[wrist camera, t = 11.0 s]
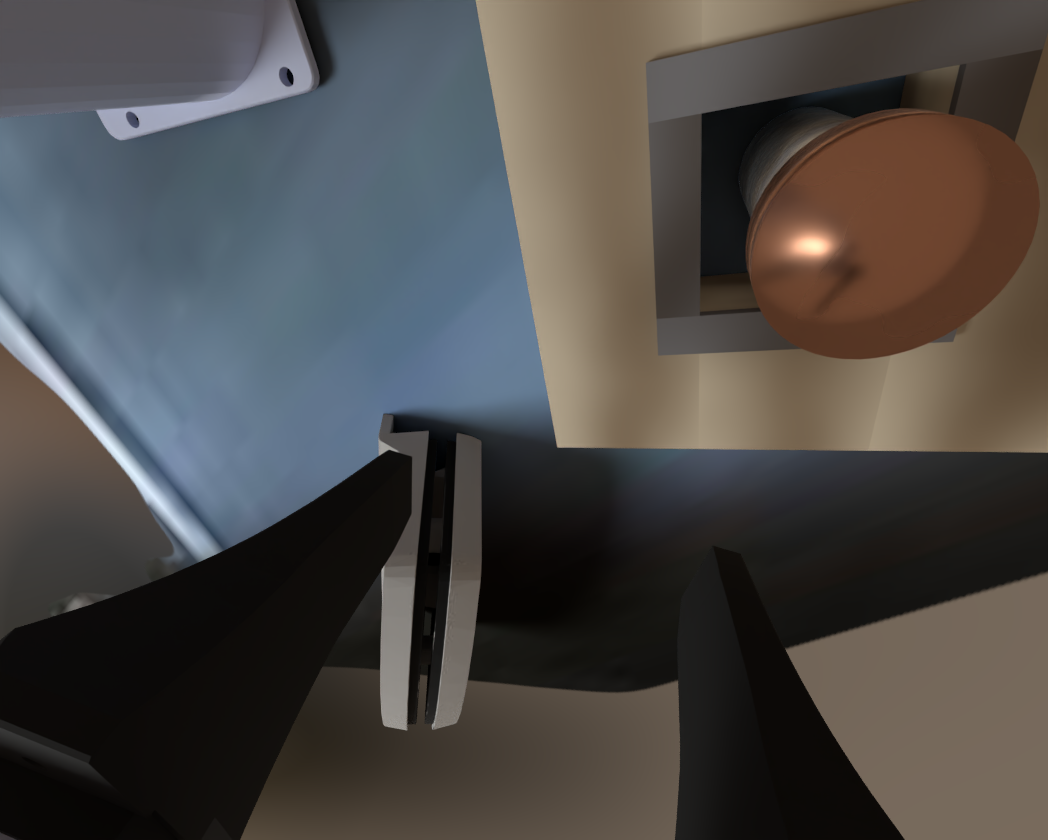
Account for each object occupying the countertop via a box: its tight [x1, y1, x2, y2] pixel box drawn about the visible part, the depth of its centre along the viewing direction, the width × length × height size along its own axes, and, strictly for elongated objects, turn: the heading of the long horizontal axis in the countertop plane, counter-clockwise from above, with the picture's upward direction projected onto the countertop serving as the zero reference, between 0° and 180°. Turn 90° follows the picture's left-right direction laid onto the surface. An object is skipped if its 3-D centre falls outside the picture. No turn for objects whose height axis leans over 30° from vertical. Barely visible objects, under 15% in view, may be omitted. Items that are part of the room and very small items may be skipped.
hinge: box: [379, 414, 482, 730], centre depth 25 cm, size 17×5×10 cm, turn 170°
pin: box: [739, 107, 1040, 359], centre depth 11 cm, size 4×4×8 cm
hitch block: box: [476, 0, 1048, 452], centre depth 13 cm, size 15×15×3 cm
